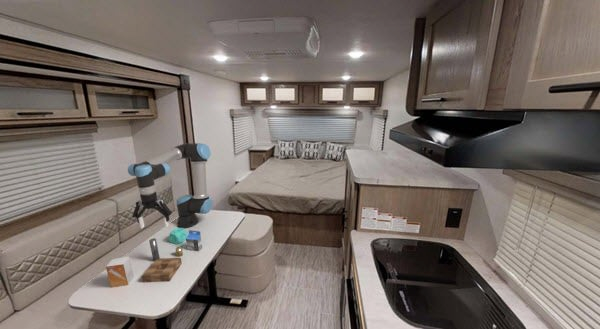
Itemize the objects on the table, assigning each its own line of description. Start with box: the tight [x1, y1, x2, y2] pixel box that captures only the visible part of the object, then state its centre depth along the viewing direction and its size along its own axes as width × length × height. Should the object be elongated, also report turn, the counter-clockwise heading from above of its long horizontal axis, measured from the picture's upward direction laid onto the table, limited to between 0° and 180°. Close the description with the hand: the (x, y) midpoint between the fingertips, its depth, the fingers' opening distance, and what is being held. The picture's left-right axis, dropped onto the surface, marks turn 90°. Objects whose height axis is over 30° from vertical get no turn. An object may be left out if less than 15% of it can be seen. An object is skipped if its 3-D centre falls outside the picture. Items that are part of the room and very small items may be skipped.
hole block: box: [141, 257, 183, 283], centre depth 125 cm, size 14×14×4 cm
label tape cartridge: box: [185, 229, 203, 252], centre depth 145 cm, size 9×4×12 cm, turn 79°
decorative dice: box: [168, 227, 188, 245], centre depth 154 cm, size 8×8×8 cm
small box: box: [105, 256, 135, 288], centre depth 117 cm, size 8×6×13 cm
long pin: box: [149, 238, 161, 262], centre depth 134 cm, size 3×3×14 cm
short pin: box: [175, 246, 184, 258], centre depth 139 cm, size 3×3×5 cm
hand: (155, 226), depth 129 cm, fingers open, 13 cm apart
